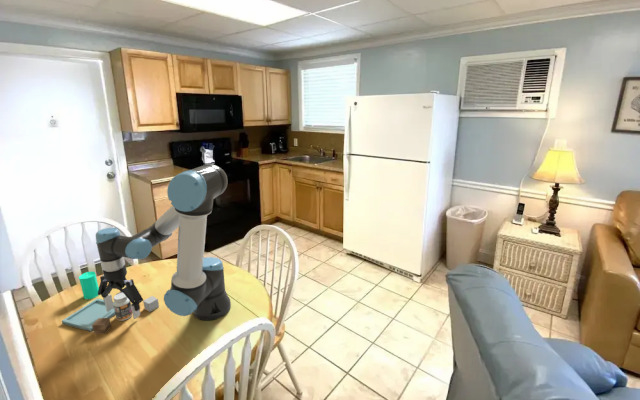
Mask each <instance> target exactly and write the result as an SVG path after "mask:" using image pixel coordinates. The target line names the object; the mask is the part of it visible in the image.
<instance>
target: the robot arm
mask: <svg viewBox="0 0 640 400" xmlns="http://www.w3.org/2000/svg"><path fill="white" fill-rule="evenodd" d="M227 187H228V176H227V173H226V172H225V170H224V169H222V167H220V166H218V165H216V164H203V165H201V166H198V167H195V168H192V169H188V170H183V171H182V172H180V173H178V174H176V175H175V176H174V177H172V178H171V180H170V181H169V183H168V186H167V191H166V192H167V194H166V195H167V198H168V200H169V201H170V204H171V206H170V208H168V209H167V210H166V211H165V212H164V213H163V214H162V215H161V216H160V217H159V218H158V219H157V220H156V221H155V222H153V224H152V225H150V226H149V227H147V228H145V229H144V230H141V231H140V232H137V233H135V234H134V235H131V236H127V235H126V236H125V235H121V232H120V230H119V229H118V228H117V227H107V228H106V227H105V228H102V229H100V230H98V231H97V232H95V241H96V242H95V244H96V247H97V251H98V255H99V260H100V266H101V269H102V273H103V275H101V276H100V277H99V279H100V283H99V285H98V287H99V290H98V295H99V296H101V297H102V298H103V299H102V300H104V303H105V306H106V310H107V312H109V311H110V310H112V309H113V308H114V306H113V302H114V300H113V297H112V294H111V292H112V290H115V289H116V290H119V292H123V293H124V294H125V295H126V297H127V298H128V299H129V300H130V302H131V308H132V317H133V319H136V318H138V317H139V316H141V311H140V309H141V306H140V304H141V303H142V302H143V301H144V298H143V297H142V295H141V293H140V291H139V290H138V288H137V286H136V285H135V282H134V279H132V278H131V279H130V280H129V279H127V277H126V276H127V273H128V270H127V265H126V261H125V258H127V259H131V260H144V259H147V257H149V255H150V254H151V252H152V248H154V247H156V246H157V245H159V244H160V243H162V242H164V241H166V240H168V239H169V238H170V237H171V236H172V235H173V232H175V231H176V230H177V229H178V233H177V234H178V236H177V237H178V238H177V259H176V271H175V272H174V273H173V274H172V276H171V283H170V284H171V286H170V289H168V290H166V291H165V293H164V294H163V301H164V305H165V306H166V307H167V309H168V310H169V311H170V312H171V313H173V314H175V315H177V316H180V317H186V316H187V317H188V316H189V315H191V314H193V315H194V317H195V318H196V319H198V320H201V321H213V320H218V319H221V318H222V317H224V316H225V315H226V314H228V313H229V311H230V310H231V307H232V306H231V305H232V304H231V299H230V297H229V296H228V293H227V291H226V283H225V274H224V271H225V270H224V269H225V268H224V264H223V261H222V260H221V259H220V258H218V257H213V256H209V257H208V256H206V257H204V256H205V245H206V244H205V243H206V234H207V222H208V221H207V220H208V219H207V218H208V215H210V214H212V211H213V206H214V200H215V199H216V198H217V197H218V196H220V195H222V194H223V193H224V192H225V191H226V189H227Z"/></svg>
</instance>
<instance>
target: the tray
mask: <svg viewBox="0 0 640 400" xmlns="http://www.w3.org/2000/svg"><path fill="white" fill-rule="evenodd" d="M114 302H115V301H113V304H114ZM114 316H115V317H116V315H115V310H114V308H113V309H112V310H110V311H109V312H107V310H106V306H105V303H104V299H100V298H97V297H96V299H94V300H92V301H91V302H89V303H87V304H86V305H85V306H82V308H80V309H78V310H76V311H75V312H73V313H72V314H69V316H67V317H65V318H63V319H62V320H61V322H62V323H61V324H63V325H65V326H69V327H73V328H76V329H81V330H83V331H88V332H94V331H93V327H92V325H93V324H94V323H95V322H96V320H97V319H98V318H109V319H112V318H114Z"/></svg>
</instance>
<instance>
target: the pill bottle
mask: <svg viewBox="0 0 640 400" xmlns="http://www.w3.org/2000/svg"><path fill="white" fill-rule="evenodd" d="M118 293H119V292H118ZM116 294H117V293H116ZM116 294H115V295H114V296H113V302H114V304H113V306H114V310H115V319H116V320H117V321H120V322H121V321H123V322H124V321H127V320H129V319H130V318H131V317H133V313H132V308H131V304H132V303H131V301H130V300H129V299H128V298H127V297H126V295H125V294H124V293H119V294H117V295H116Z"/></svg>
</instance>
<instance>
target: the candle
mask: <svg viewBox="0 0 640 400" xmlns="http://www.w3.org/2000/svg"><path fill="white" fill-rule="evenodd" d="M78 279H79V284H80V287H81V291H82V295H83V298H84V300H92V299H95V298H96V299H97V297H99V296H100V295H98V290H99V282H98V279H97V274H96V272H95V271H86V272H83V273H82V274H81V275H79V276H78Z"/></svg>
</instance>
